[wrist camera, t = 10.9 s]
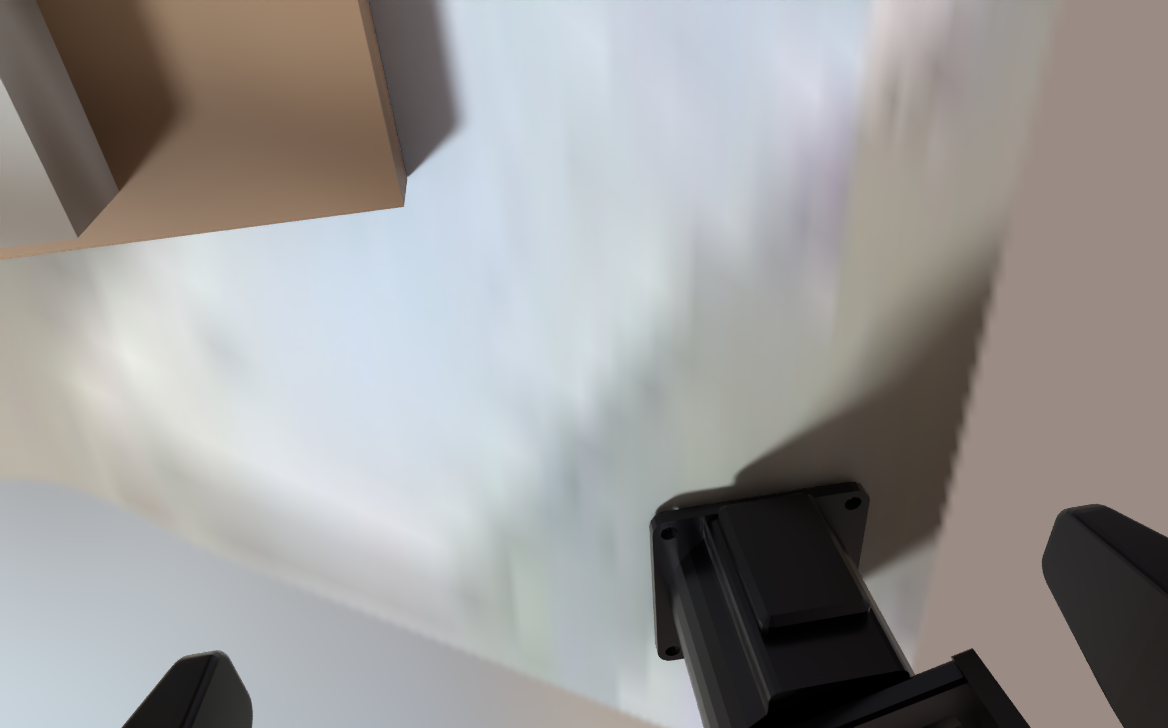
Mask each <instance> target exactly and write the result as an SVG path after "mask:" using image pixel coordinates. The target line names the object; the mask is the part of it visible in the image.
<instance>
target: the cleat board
mask: <svg viewBox="0 0 1168 728" xmlns="http://www.w3.org/2000/svg"><path fill="white" fill-rule="evenodd" d="M406 184H407V176H406V171H405V166H404V162H403V157H402V153H401V148H400V143H399V139H398V134H397V130H396V125H395V120H394V116H393V111H392V107H391V102H390V97H389V93H388V88H387V84H386V79H385V75H384V70H383V65H382V61H381V56H380V52H379V47H378V42H377V38H376V33H375V29H374V24H373V19H372V15H371V10H370V6H369V1H368V0H0V260H3V259H10V258H18V257H26V256H33V255H41V254H48V253H56V252H64V251H71V250H79V249H86V248H94V247H102V246H109V245H117V244H124V243H132V242H139V241H147V240H155V239H162V238H170V237H177V236H185V235H193V234H200V233H208V232H215V231H223V230H231V229H238V228H246V227H253V226H261V225H269V224H276V223H284V222H291V221H299V220H307V219H314V218H322V217H329V216H337V215H345V214H352V213H360V212H367V211H375V210H383V209H390V208H398V207H404V201H405V193H406Z"/></svg>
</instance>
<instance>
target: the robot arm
mask: <svg viewBox="0 0 1168 728" xmlns="http://www.w3.org/2000/svg"><path fill="white" fill-rule="evenodd" d="M850 498H852V499H850ZM849 499H850V500H849ZM868 507H869V496H868V494H867V492H866V491H865V489H864V488H863V486H862V485H861V484H860V483H857V482H845V483H839V484H833V485H827V486H820V487H814V488H808V489H802V490H796V491H790V492H783V493H777V494H771V495H765V496H759V497H752V498H746V499H740V500H734V501H728V502H721V503H715V504H709V505H703V506H697V507H690V508H684V509H678V510H672V511H666V512H662V513H659V514H658V515H656V516H655V517H654V518H653V519H652V520H651V522H650V526H649V528H650V548H651V568H652V588H653V608H654V628H655V644H656V648H657V652H658V655H659V657H660V658H661V659H663V660H667V661H671V660H678V659H685V663H686V666H687V670H688V673H689V677H690V680H691V684H692V688H693V691H694V695H695V698H696V702H697V705H698V709H699V712H700V716H701V719H702V723H703V727H704V728H1030V726H1029V725H1028V724H1027V722H1026V721H1025V719H1024V718H1023V717H1022V715H1021V714H1020V713H1019V711H1018V710H1017V709H1016V707H1015V706H1014V705H1013V703H1012V702H1011V700H1010V699H1009V697H1008V696H1007V695H1006V694H1005V692H1004V691H1003V690H1002V688H1001V686H1000V685H999V684H998V682H997V681H996V680H995V679H994V677H993V676H992V674H991V673H990V671H989V670H988V669H987V667H986V666H985V665H984V663H983V662H982V660H981V659H980V658H979V656H978V655H977V654H976V652H975V651H974V650H973V649H972V648H971V649H969V650H966V651H964V652H962V653H959V654H956V655H954V656H951V658H952V661H950V662H947V663H945V664H942V665H940V666H937V667H935V668H932V669H930V670H927V671H925V672H922V673H920V674H917V675H915V674H914V672H913V670H912V668H911V666H910V664H909V663H908V661H907V659H906V657H905V655H904V653H903V652H902V650H901V648H900V646H899V644H898V643H897V641H896V639H895V637H894V635H893V633H892V632H891V630H890V628H889V626H888V624H887V622H886V621H885V619H884V617H883V615H882V613H881V612H880V610H879V608H878V606H877V604H876V602H875V601H874V599H873V597H872V595H871V593H870V591H869V590H868V588H867V586H866V584H865V582H864V581H863V579H862V577H861V575H860V573H859V571H858V566H859V560H860V554H861V548H862V542H863V536H864V530H865V524H866V518H867V513H868ZM668 527H672V528H670V529H668V530H664V529H666V528H668ZM1042 569H1043V574H1044V578H1045V580H1046V583H1047V585H1048V587H1049V589H1050V590H1051V592H1052V594H1053V596H1054V598H1055V600H1056V602H1057V604H1058V606H1059V608H1060V610H1061V612H1062V614H1063V616H1064V617H1065V619H1066V622H1067V623H1068V625H1069V627H1070V629H1071V631H1072V633H1073V635H1074V637H1075V639H1076V641H1077V643H1078V645H1079V647H1080V649H1081V650H1082V653H1083V654H1084V656H1085V658H1086V660H1087V662H1088V664H1089V666H1090V668H1091V670H1092V672H1093V673H1094V676H1095V678H1096V680H1097V682H1098V684H1099V685H1100V687H1101V689H1102V691H1103V693H1104V695H1105V696H1106V698H1107V700H1108V702H1109V704H1110V706H1111V707H1112V709H1113V711H1114V712H1115V714H1116V716H1117V717H1118V719H1119V721H1120V722H1121V724H1122V725H1123V727H1124V728H1168V537H1166V536H1164V535H1162V534H1160V533H1158V532H1156V531H1154V530H1152V529H1150V528H1148V527H1146V526H1144V525H1143V524H1141V523H1139V522H1137V521H1134V520H1133V519H1131V518H1129V517H1127V516H1125V515H1123V514H1121V513H1119V512H1117V511H1115V510H1113V509H1111V508H1109V507H1107V506H1104V505H1100V504H1091V505H1084V506H1079V507H1072V508H1068V509H1064V510H1063V511H1061V512H1060V513H1059V515H1058V516H1057V518H1056V520H1055V523H1054V526H1053V529H1052V532H1051V535H1050V537H1049V540H1048V543H1047V546H1046V549H1045V552H1044V554H1043V558H1042ZM252 720H253V710H252V703H251V699H250V696H249V694H248V691H247V690H246V688H245V686H244V684H243V682H242V680H241V678H240V677H239V675H238V673H237V671H236V669H235V667H234V666H233V664H232V662H231V660H230V658H229V657H228V656H227V654H225V653H224V652H222V651H211V652H204V653H198V654H192V655H188V656H185V657H182V658H181V659H179V660H178V661H177V662H176V663H175V664H174V665H173V666H172V667H171V668H170V669H169V671H168V672H167V673H166V674H165V675H164V677H163V678H162V679H161V680H160V682H159V683H158V684H157V685H156V686H155V688H154V689H153V690H152V691H151V693H150V694H149V695H148V696H147V697H146V699H145V700H144V701H143V702H142V704H141V705H140V706H139V707H138V708H137V710H136V711H135V712H134V713H133V714H132V716H131V717H130V718H129V719H128V720H127V722H126V723H125V724H124V725H123V727H122V728H252Z"/></svg>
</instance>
